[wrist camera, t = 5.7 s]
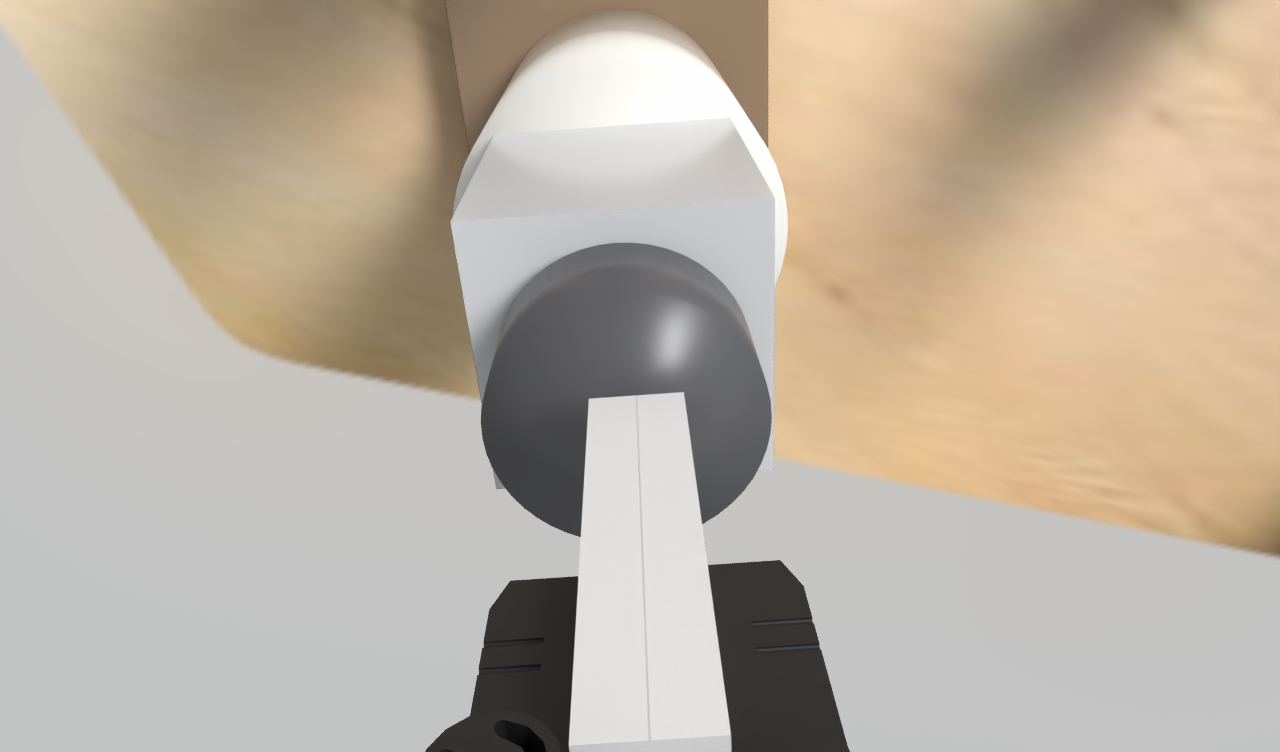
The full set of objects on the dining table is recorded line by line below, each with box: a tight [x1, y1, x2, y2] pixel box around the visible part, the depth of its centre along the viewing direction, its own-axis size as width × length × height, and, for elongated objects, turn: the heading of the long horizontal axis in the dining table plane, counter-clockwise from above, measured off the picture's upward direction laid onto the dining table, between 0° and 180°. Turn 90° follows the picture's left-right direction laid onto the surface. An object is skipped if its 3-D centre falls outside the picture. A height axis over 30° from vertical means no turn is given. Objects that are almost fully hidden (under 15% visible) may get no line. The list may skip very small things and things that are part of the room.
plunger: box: [481, 243, 772, 537], centre depth 20 cm, size 5×5×9 cm
